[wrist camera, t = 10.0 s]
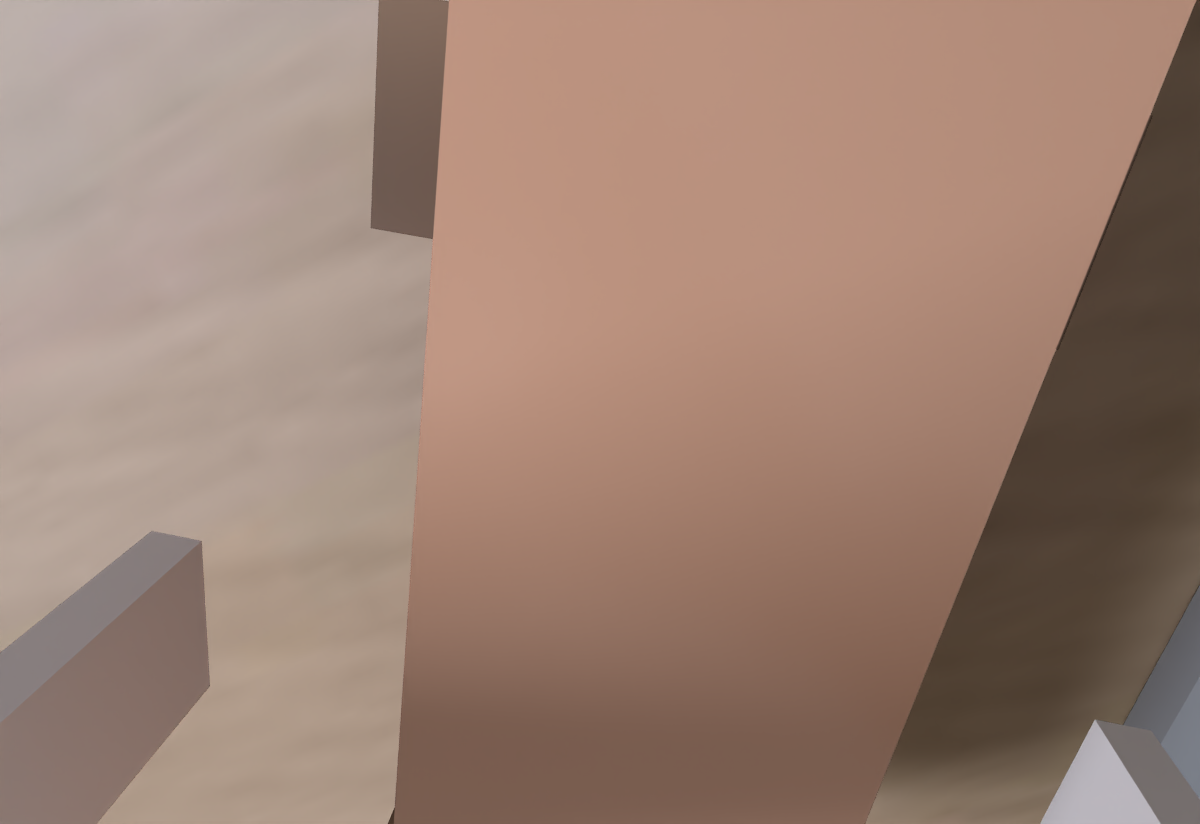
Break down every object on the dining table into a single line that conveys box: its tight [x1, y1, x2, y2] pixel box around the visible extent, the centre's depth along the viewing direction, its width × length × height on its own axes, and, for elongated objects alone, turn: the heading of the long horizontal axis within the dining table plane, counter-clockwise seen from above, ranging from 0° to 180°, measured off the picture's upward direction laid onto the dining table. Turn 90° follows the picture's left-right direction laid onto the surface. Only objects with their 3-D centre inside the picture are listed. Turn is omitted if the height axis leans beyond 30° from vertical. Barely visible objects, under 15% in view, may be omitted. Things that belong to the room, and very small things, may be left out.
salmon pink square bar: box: [394, 0, 1196, 824], centre depth 10 cm, size 22×4×4 cm, turn 171°
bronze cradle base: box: [371, 0, 1152, 824], centre depth 15 cm, size 18×9×7 cm, turn 171°
